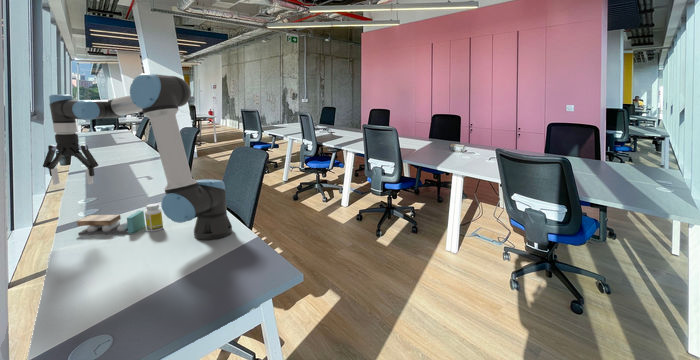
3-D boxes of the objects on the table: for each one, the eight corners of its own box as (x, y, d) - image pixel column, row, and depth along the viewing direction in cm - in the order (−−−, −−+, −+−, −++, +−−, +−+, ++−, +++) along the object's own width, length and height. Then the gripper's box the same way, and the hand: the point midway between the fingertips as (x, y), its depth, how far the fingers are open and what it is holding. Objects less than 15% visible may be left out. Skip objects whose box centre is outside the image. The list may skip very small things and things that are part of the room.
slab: (120, 219, 159) (120, 214, 158) (110, 225, 151) (109, 220, 150) (89, 219, 158) (89, 215, 157) (77, 225, 150) (76, 221, 149)
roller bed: (145, 225, 161) (143, 210, 160) (133, 233, 151) (131, 217, 150) (93, 226, 159) (91, 211, 158) (78, 234, 150) (75, 218, 148)
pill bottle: (165, 227, 160) (163, 202, 157) (159, 231, 154) (156, 207, 151) (151, 227, 160) (148, 203, 157) (144, 232, 153) (141, 207, 151)
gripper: (103, 132, 153) (109, 181, 157) (40, 132, 150) (48, 181, 155) (92, 134, 145) (99, 185, 150) (26, 133, 143) (35, 185, 148)
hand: (73, 183), depth 152 cm, fingers open, 13 cm apart
